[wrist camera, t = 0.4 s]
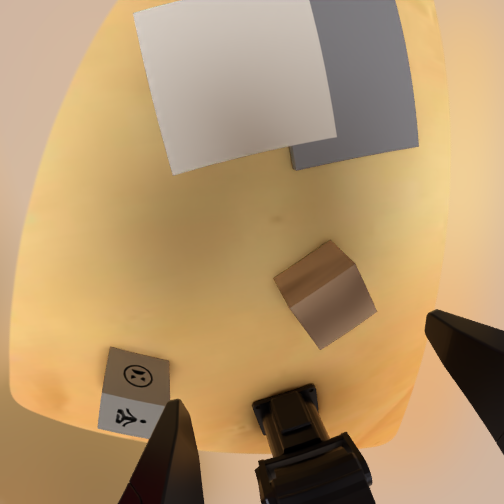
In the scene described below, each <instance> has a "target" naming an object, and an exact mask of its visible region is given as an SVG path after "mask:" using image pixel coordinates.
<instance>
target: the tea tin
mask: <svg viewBox="0 0 504 504" xmlns="http://www.w3.org/2000/svg"><path fill="white" fill-rule="evenodd" d="M133 16H134V21H135V25H136V30H137V35H138V39H139V44H140V49H141V53H142V57H143V62H144V66H145V70H146V75H147V79H148V83H149V87H150V91H151V95H152V99H153V103H154V107H155V111H156V115H157V119H158V123H159V127H160V131H161V134H162V138H163V142H164V145H165V149H166V153H167V156H168V160H169V164H170V167H171V171H172V174H173V176H174V175H177V174H180V173H184V172H187V171H191V170H194V169H198V168H202V167H205V166H209V165H213V164H216V163H220V162H224V161H228V160H232V159H236V158H240V157H244V156H248V155H252V154H257V153H261V152H265V151H270V150H274V149H279V148H283V147H288V146H293V145H298V144H303V143H308V142H313V141H318V140H323V139H329V138H334V137H337V134H336V128H335V121H334V115H333V109H332V103H331V97H330V92H329V86H328V81H327V76H326V70H325V65H324V61H323V56H322V51H321V47H320V42H319V38H318V33H317V29H316V25H315V21H314V17H313V13H312V9H311V5H310V1H309V0H181V1H176V2H172V3H168V4H164V5H160V6H156V7H153V8H149V9H145V10H142V11H139V12H135V13H133Z"/></svg>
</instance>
